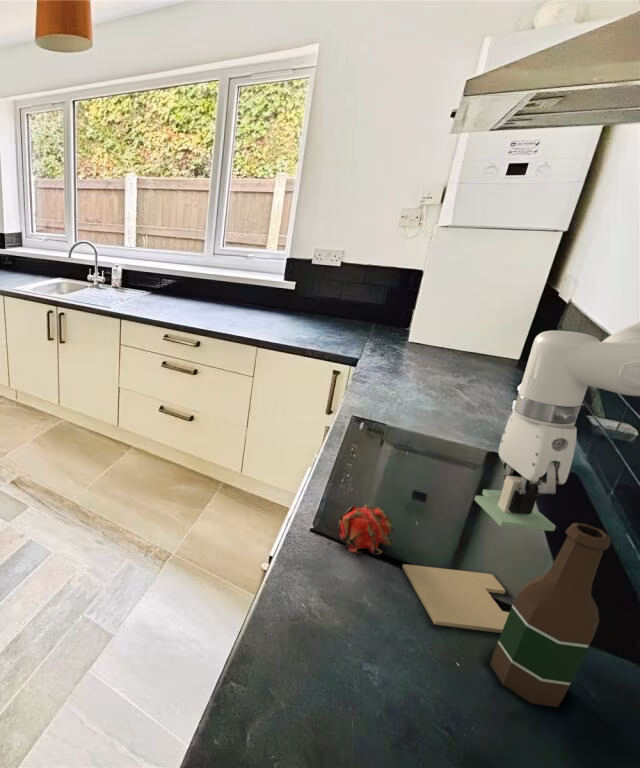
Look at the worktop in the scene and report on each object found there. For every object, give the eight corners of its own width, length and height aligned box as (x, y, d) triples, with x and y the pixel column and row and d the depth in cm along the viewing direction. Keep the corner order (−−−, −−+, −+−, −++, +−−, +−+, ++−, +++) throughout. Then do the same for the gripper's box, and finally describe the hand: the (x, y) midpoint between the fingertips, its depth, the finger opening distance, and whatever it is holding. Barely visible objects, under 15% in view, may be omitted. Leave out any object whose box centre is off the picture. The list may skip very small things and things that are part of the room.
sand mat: (490, 579, 77) (492, 574, 77) (538, 640, 66) (541, 634, 65) (401, 569, 79) (402, 563, 79) (433, 627, 68) (435, 621, 67)
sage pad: (554, 531, 75) (567, 494, 73) (500, 526, 76) (511, 490, 74) (514, 496, 85) (525, 462, 82) (467, 492, 86) (476, 459, 84)
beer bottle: (571, 724, 55) (652, 564, 47) (491, 690, 59) (553, 537, 50) (557, 673, 61) (626, 524, 53) (485, 645, 65) (539, 502, 57)
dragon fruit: (382, 542, 88) (345, 574, 82) (351, 503, 91) (313, 532, 86) (415, 528, 81) (377, 562, 75) (380, 487, 84) (341, 517, 79)
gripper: (614, 431, 65) (573, 539, 71) (538, 393, 80) (510, 485, 86) (554, 428, 66) (519, 534, 72) (490, 391, 81) (466, 481, 87)
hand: (514, 507), depth 79 cm, fingers closed on sage pad
